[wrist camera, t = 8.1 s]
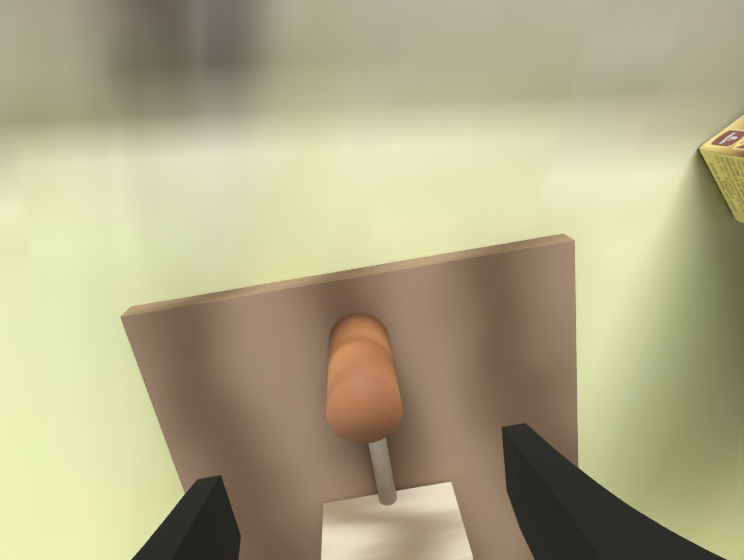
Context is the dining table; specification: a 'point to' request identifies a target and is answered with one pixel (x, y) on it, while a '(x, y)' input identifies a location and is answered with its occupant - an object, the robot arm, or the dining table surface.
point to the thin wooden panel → (414, 376)
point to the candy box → (728, 164)
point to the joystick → (380, 460)
